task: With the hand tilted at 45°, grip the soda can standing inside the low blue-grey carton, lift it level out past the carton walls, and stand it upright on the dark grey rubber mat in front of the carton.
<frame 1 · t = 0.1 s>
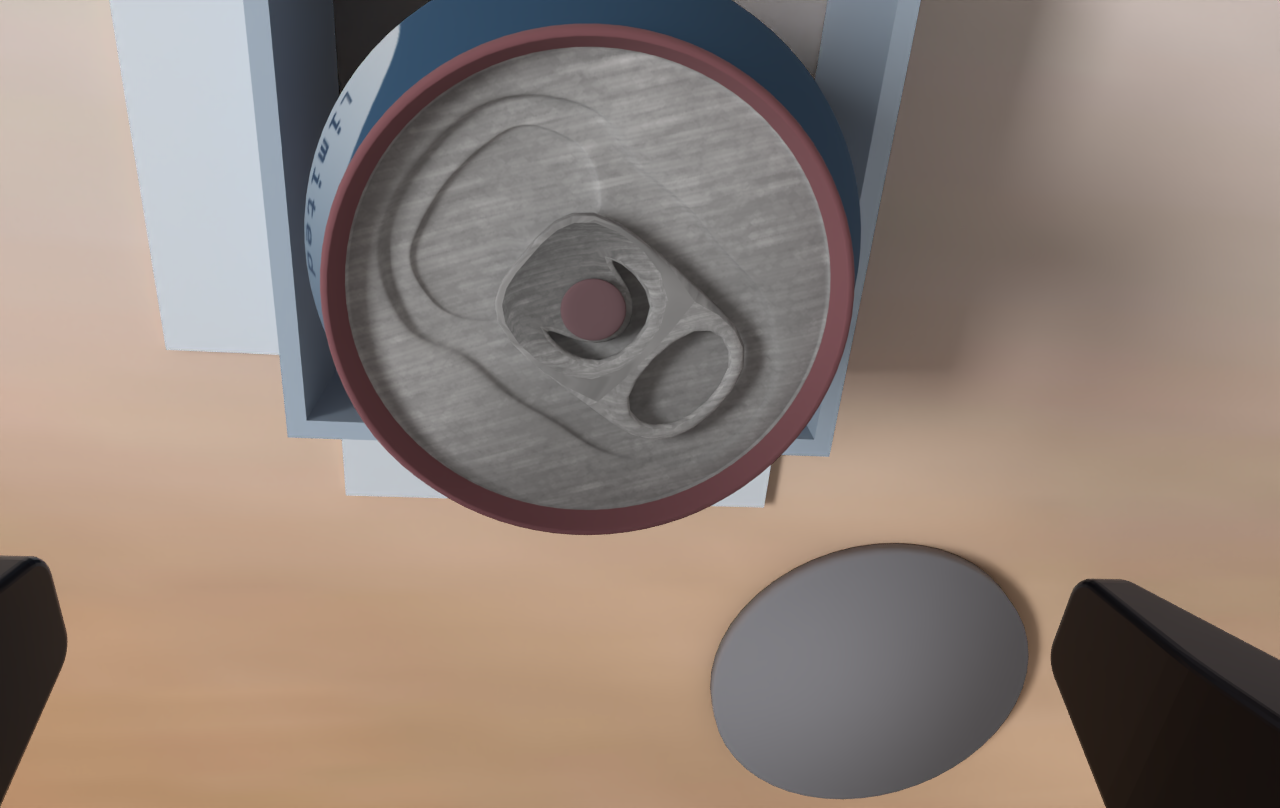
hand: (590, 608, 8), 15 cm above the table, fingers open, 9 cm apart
soda can: (578, 133, 20), resting in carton
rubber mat: (865, 673, 28), on the table
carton: (578, 134, 20), on the table
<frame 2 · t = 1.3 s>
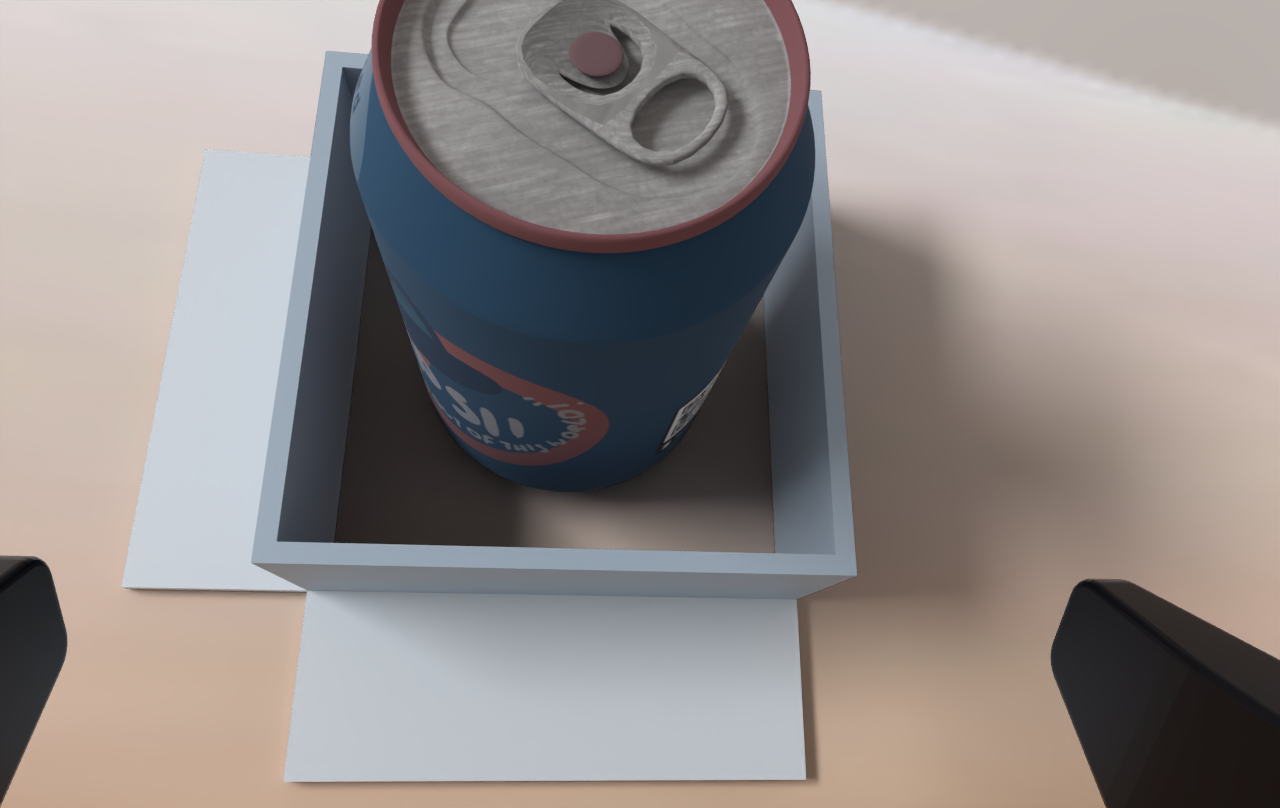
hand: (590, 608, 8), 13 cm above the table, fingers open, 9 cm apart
soda can: (566, 374, 23), resting in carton
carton: (566, 371, 23), on the table
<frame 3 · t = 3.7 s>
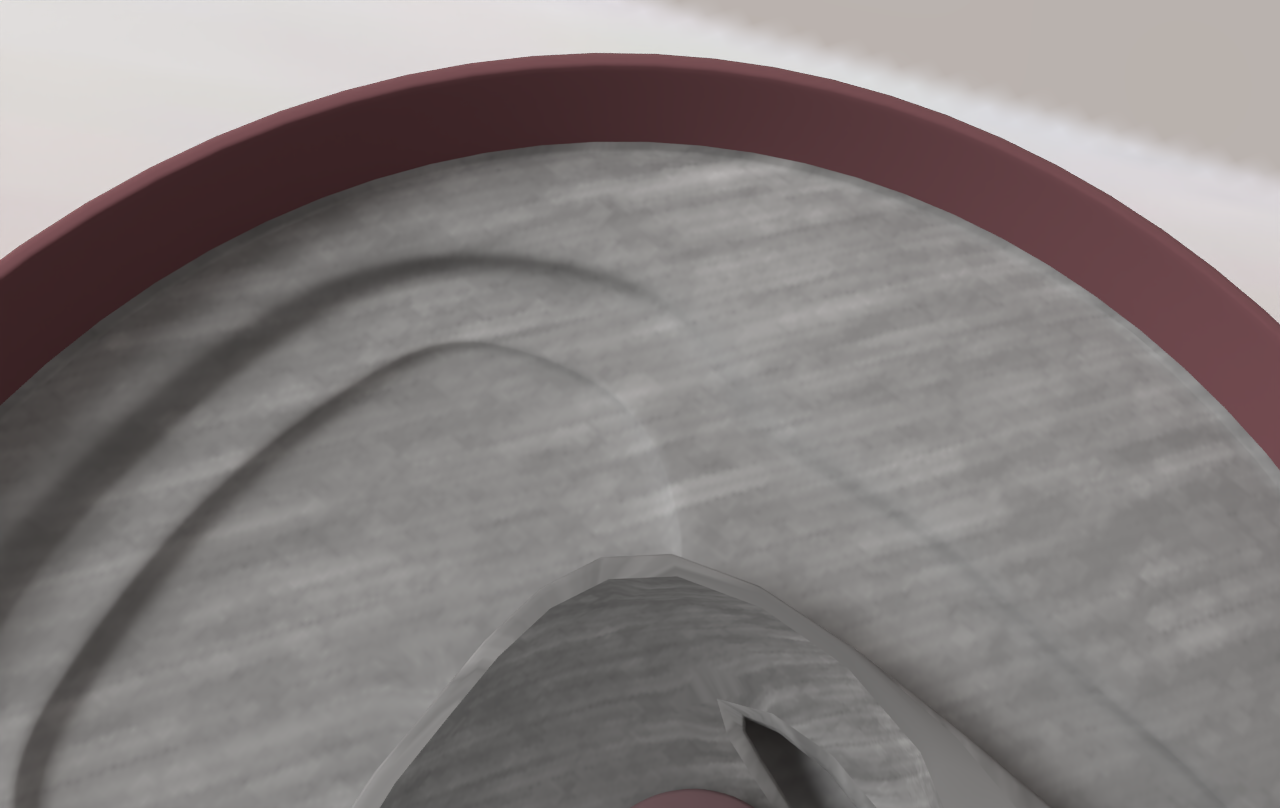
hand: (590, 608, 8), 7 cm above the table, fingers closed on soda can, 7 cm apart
soda can: (563, 743, 14), resting in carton, touching gripper
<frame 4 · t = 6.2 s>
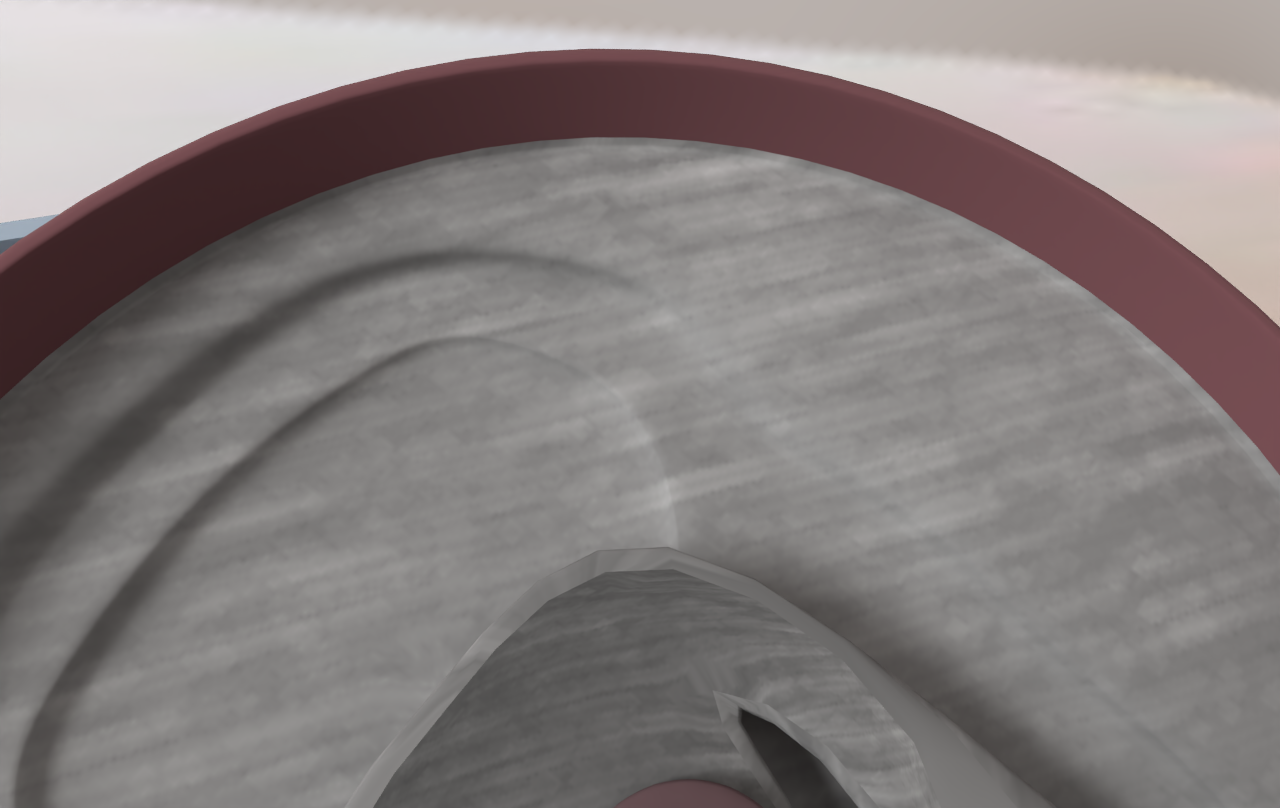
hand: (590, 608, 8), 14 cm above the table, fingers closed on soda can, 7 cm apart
soda can: (560, 737, 14), point 7 cm above the table, touching gripper
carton: (250, 503, 21), on the table
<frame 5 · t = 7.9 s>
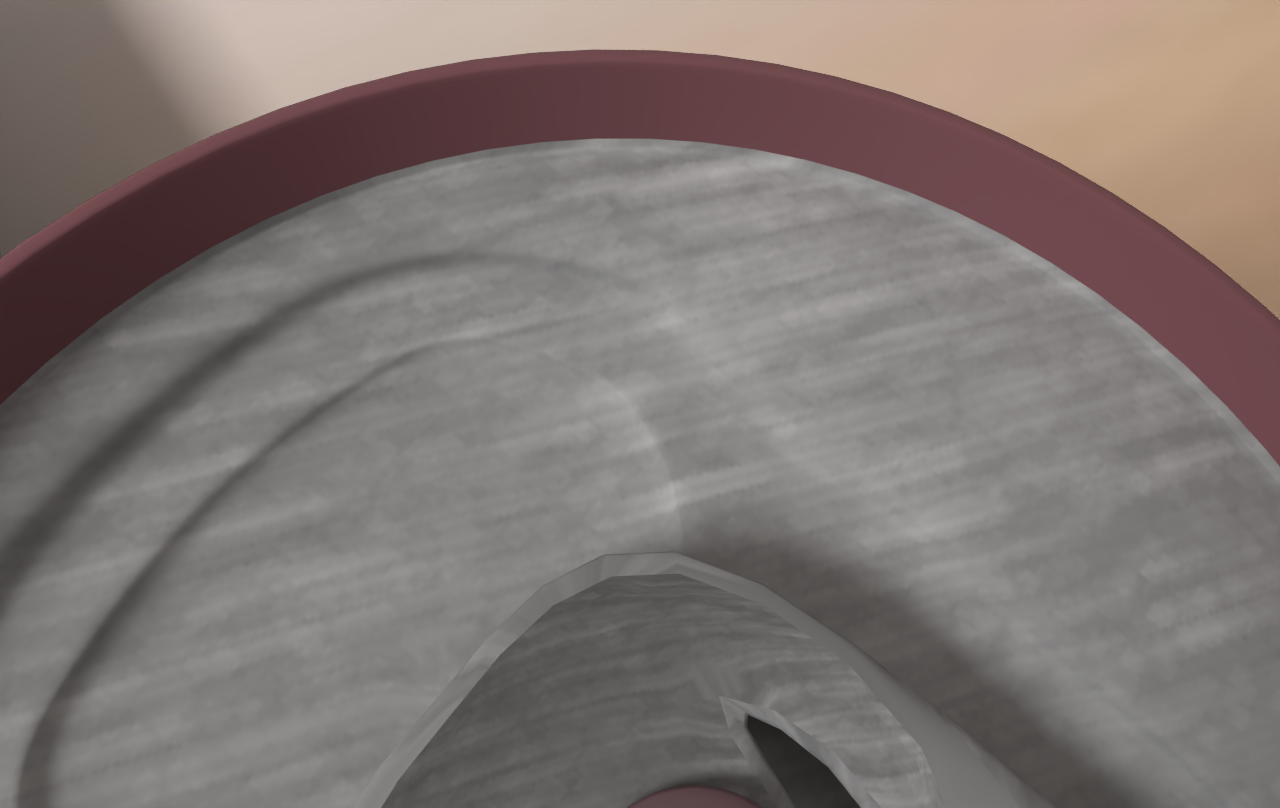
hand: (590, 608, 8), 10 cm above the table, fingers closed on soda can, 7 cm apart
soda can: (562, 738, 14), point 3 cm above the table, touching gripper
when the fingers open (8 cm above the table, at t = 8.9 s): soda can stays where it is, resting on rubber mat.
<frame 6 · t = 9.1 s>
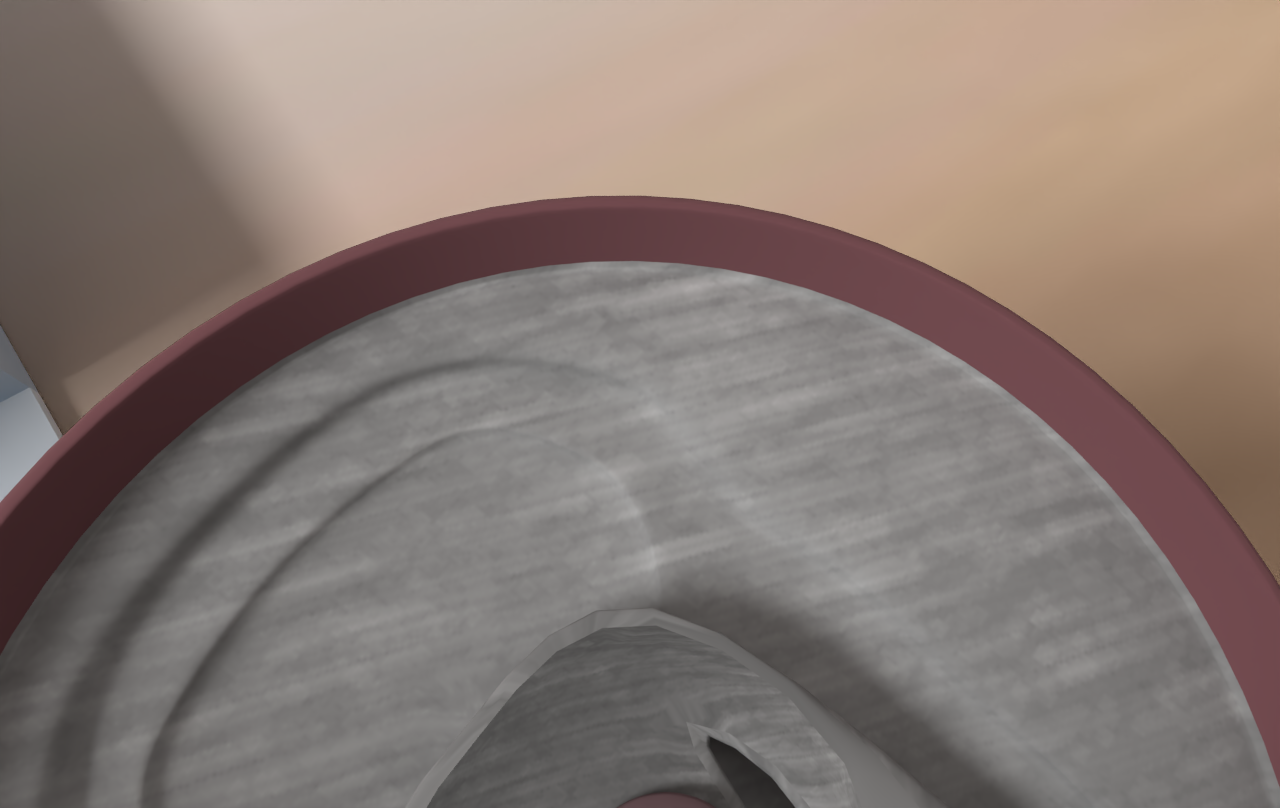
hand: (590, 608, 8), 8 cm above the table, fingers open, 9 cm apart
soda can: (564, 743, 15), resting on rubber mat
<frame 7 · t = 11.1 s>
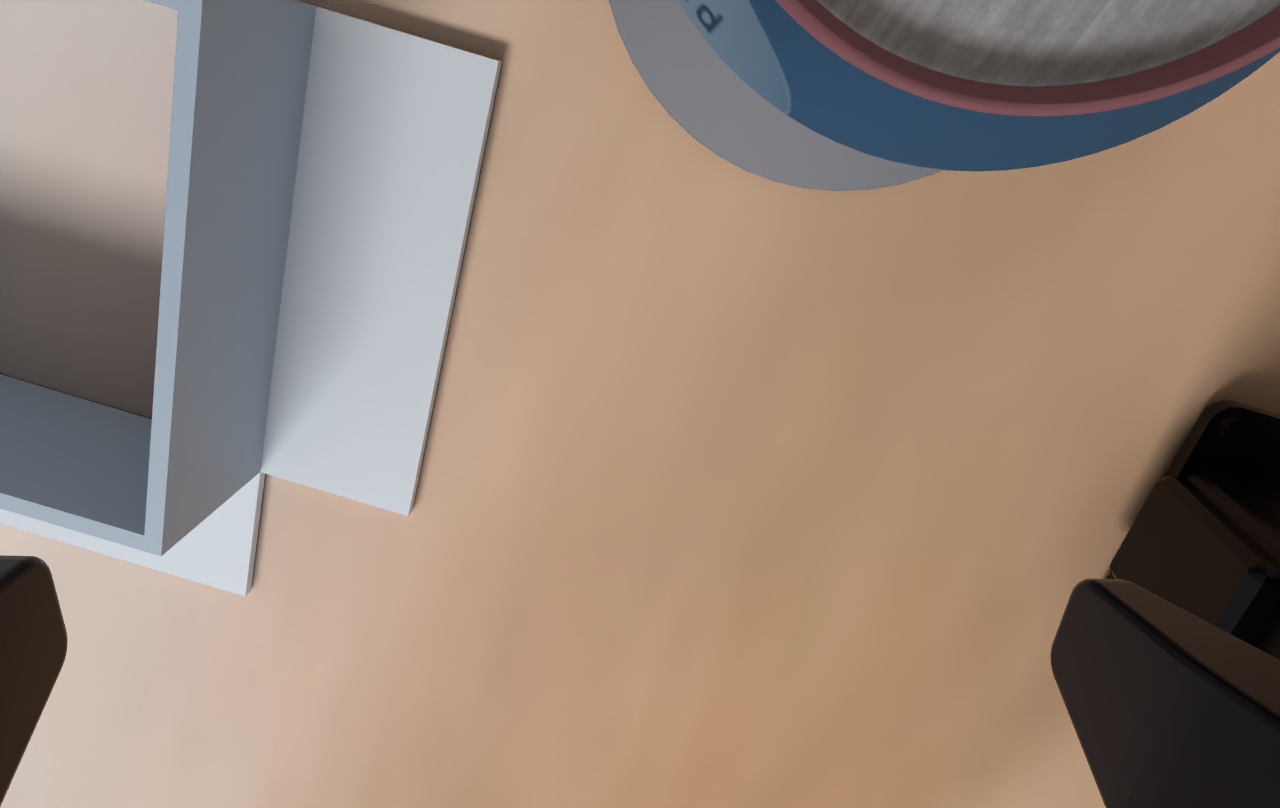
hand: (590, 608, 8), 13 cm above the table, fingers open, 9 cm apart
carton: (61, 192, 21), on the table
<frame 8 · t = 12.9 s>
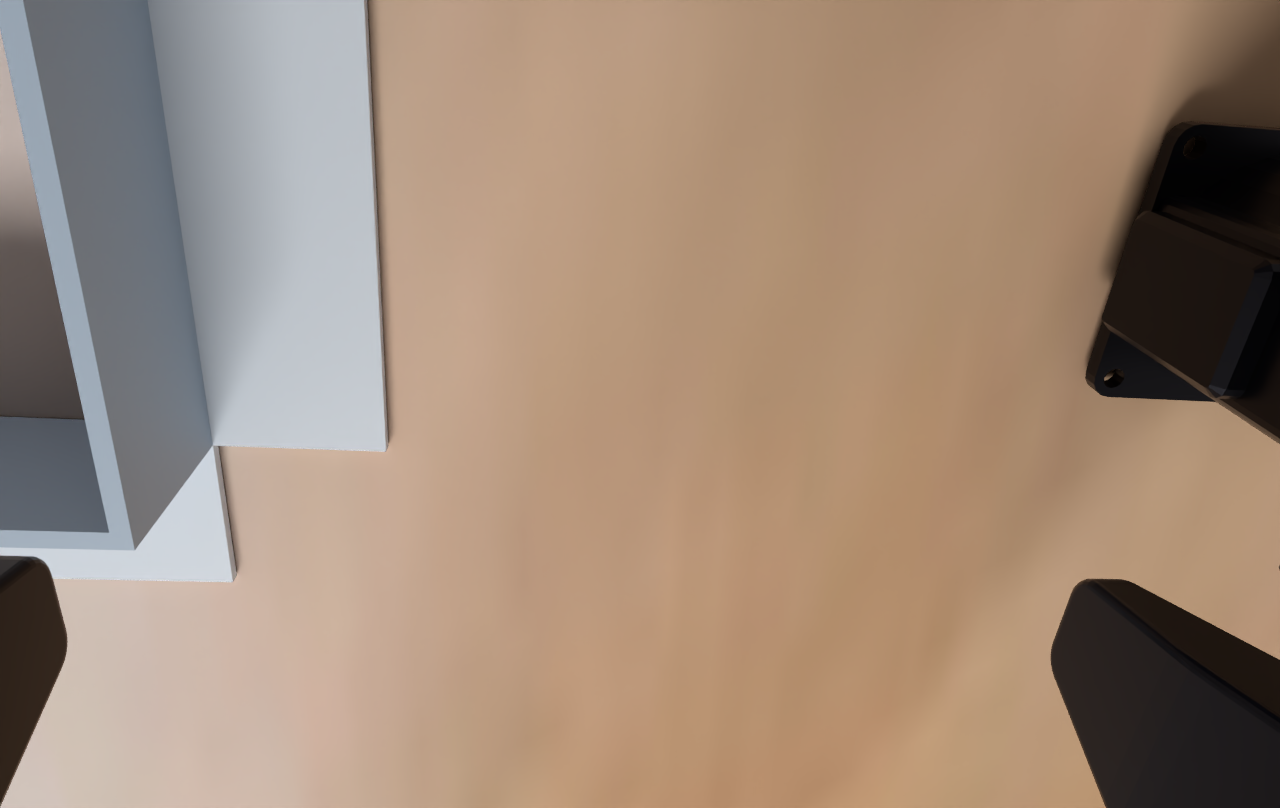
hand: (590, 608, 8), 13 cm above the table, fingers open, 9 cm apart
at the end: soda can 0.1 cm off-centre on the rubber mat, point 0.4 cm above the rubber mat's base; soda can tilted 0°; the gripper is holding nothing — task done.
